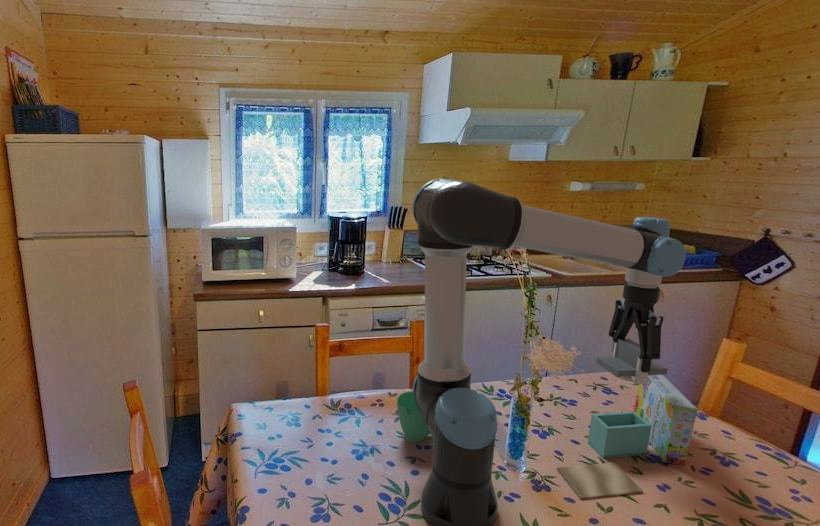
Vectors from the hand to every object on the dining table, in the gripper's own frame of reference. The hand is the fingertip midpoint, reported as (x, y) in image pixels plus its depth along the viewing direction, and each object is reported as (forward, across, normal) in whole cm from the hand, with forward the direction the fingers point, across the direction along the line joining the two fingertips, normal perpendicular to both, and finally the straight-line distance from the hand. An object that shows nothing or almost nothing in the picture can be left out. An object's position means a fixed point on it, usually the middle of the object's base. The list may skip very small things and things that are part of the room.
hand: (627, 375), depth 113 cm
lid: (-2, 0, 0) cm, 2 cm away
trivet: (+20, -10, +12) cm, 25 cm away
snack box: (+20, +2, -14) cm, 25 cm away
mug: (+20, +12, +47) cm, 52 cm away
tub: (+20, 0, 0) cm, 20 cm away
